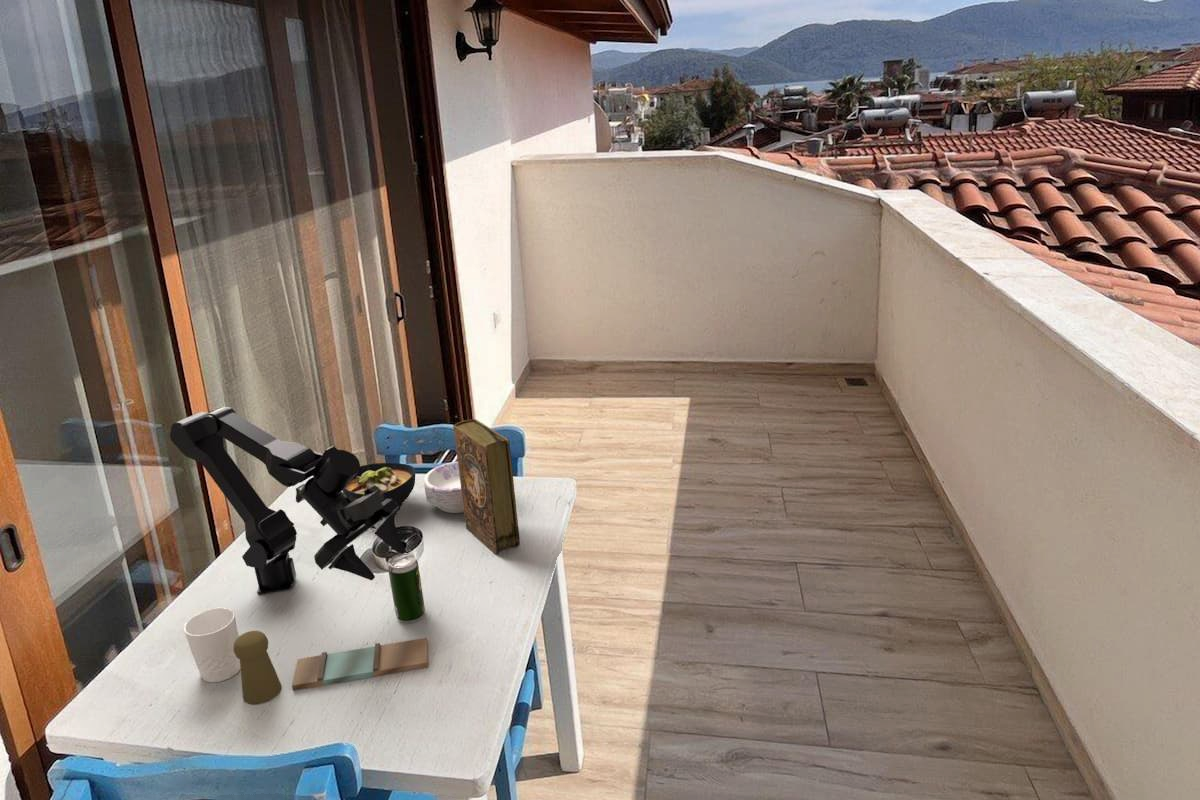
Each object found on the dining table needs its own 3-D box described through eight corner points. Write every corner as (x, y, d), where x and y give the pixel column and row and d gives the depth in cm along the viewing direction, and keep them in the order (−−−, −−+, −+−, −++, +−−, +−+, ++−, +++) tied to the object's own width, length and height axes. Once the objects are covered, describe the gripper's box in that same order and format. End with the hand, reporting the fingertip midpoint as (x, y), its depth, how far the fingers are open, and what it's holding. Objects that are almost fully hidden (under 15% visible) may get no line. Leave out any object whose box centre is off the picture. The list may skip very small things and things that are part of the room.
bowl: (410, 525, 186) (404, 486, 183) (336, 528, 187) (328, 489, 183) (426, 491, 202) (421, 454, 199) (357, 494, 203) (351, 457, 199)
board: (293, 690, 135) (291, 683, 135) (298, 663, 142) (297, 656, 141) (427, 667, 139) (426, 659, 138) (427, 642, 145) (426, 635, 145)
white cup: (215, 691, 136) (202, 641, 133) (187, 676, 140) (173, 627, 137) (256, 663, 142) (244, 615, 139) (228, 650, 146) (216, 602, 143)
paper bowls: (435, 525, 185) (431, 494, 183) (421, 498, 199) (417, 469, 196) (500, 510, 191) (496, 479, 188) (482, 484, 204) (478, 455, 201)
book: (463, 526, 184) (450, 424, 175) (485, 519, 187) (473, 417, 178) (497, 556, 171) (485, 447, 162) (520, 548, 174) (509, 440, 165)
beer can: (402, 628, 150) (393, 571, 145) (392, 614, 154) (382, 559, 150) (430, 617, 152) (421, 561, 148) (419, 604, 157) (410, 549, 152)
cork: (244, 709, 131) (230, 653, 128) (241, 687, 137) (227, 632, 133) (284, 696, 134) (271, 640, 130) (279, 675, 139) (266, 621, 135)
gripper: (315, 503, 139) (377, 570, 139) (383, 459, 155) (439, 519, 155) (288, 537, 145) (348, 601, 144) (356, 491, 161) (411, 549, 160)
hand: (389, 565), depth 151 cm, fingers open, 9 cm apart
